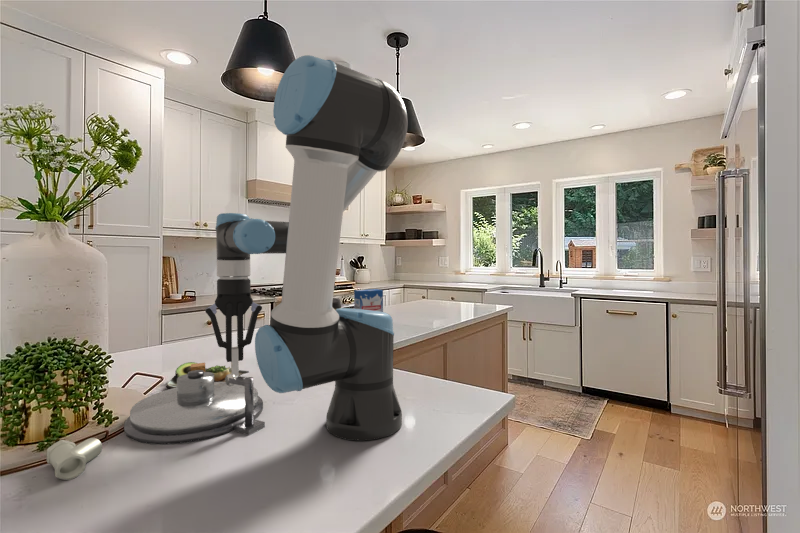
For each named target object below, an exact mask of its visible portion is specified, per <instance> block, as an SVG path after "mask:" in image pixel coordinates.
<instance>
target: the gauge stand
mask: <svg viewBox="0 0 800 533" xmlns="http://www.w3.org/2000/svg"><path fill="white" fill-rule="evenodd" d="M225 382H226V384H227V385H228V386H233V385H235V384H236V385H241V386H245V421H243V422H241V423H239V424H237V425H235V426H234V431H233V432H236V433H239V434H244V435H248V436H250V435H252V434H254V433H255V432H258V431H259V429H260V430H261V429H264V428H265V427H266V424H265V423H266V422H265V421H264V420H262V421H261V420H258V419H254V394H253V387H254V377H252V376H251V377H250V376H248V377H245V378H241V377H238V378H237V377H236V376H235V374H233V373H231V374H228V375H226V377H225ZM263 427H264V428H263ZM257 430H258V431H257Z"/></svg>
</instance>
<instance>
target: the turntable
mask: <svg viewBox="0 0 800 533" xmlns="http://www.w3.org/2000/svg"><path fill="white" fill-rule="evenodd" d="M195 363H196V364H191V371H194V370H203V371H204V372H205V368H206V362H199V363H198V362H195ZM253 394H254V409H255V408H256V407H257V405H258V396H259V391H258V389H257V387H255V386H253ZM129 416H130V424H131V426H132V427H133V428H134V429H136V430H138V431H140V432H144V433H149V434H161V435H170V434H183V433H191V432H198V431H203V430H208V429H212V428H216V427H219V426H223V425H226V424H228V423H231V422H234V421H236V420H239V419H241V418H243V417H244V416H245V386H241V385H236V384H235V385H233V386H228V385H227V384H226V382H214V399H213V400H212V401H210V402H208V403H205V404H201V405H196V406H181V405H178V404H177V387H176V388H172V389H166V390H162V391H159V392H156V393H154V394H152V395H149V396H146V397H144V398H142V399H141V400H139V401H138V402H136V403H134V405H133V406H132V407H131V409H130V410H129Z"/></svg>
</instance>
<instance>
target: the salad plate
mask: <svg viewBox="0 0 800 533" xmlns="http://www.w3.org/2000/svg"><path fill="white" fill-rule="evenodd" d="M196 363H197V362H195V361H190V362H184V363H182V364H180V365H179V366H178V367H176V369H175V372H174V373H175V374H174V376H172V378H171V379H170V380H169V381H168V383H166V388H167V390H169V389H172V388H176V387H177V378H178V377H180V376H182V375H185V374H188V372H190V371H191V364H196ZM205 372H211V373H213V374H214V382H225V377H226V375H228V374H231V366H228V367H226V365H218V364H217V365H215V366H211V367H208V368H206V367H205ZM248 373H250V371H249V370H242V369H241V370H240V369H239V375H238V376H236V377H237V378H240V377H241V376H242V375H244V374H248Z"/></svg>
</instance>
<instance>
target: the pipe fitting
mask: <svg viewBox="0 0 800 533" xmlns="http://www.w3.org/2000/svg"><path fill="white" fill-rule="evenodd" d="M102 450H103V443H102V442H101V441H100V440H99V439H98V438H95V437H90V438H87V439H85V440H83V441H82V442H80V443H78V444H76V443H75V442H74V441H69V440H66V439H65V440H64V439H60V440H59V441H56V442H55V443H54V444H52V445H51V446H49V447H48V448H47V450H46V462H47V464H48V465H49V464H50V465H51V466H52V467H53V469H54V475H55V478H56V479H59V480H63V481H64V480H65V481H69V480H70V481H71V480H73V479H75V478H77V477H78V476H79V475H81V474H82V473H83V472H84V471H86V464H87V463H88V462H91V461H92V460H94V459H95V458H96V457H98V456H99V455H100V454H101V452H102Z"/></svg>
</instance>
